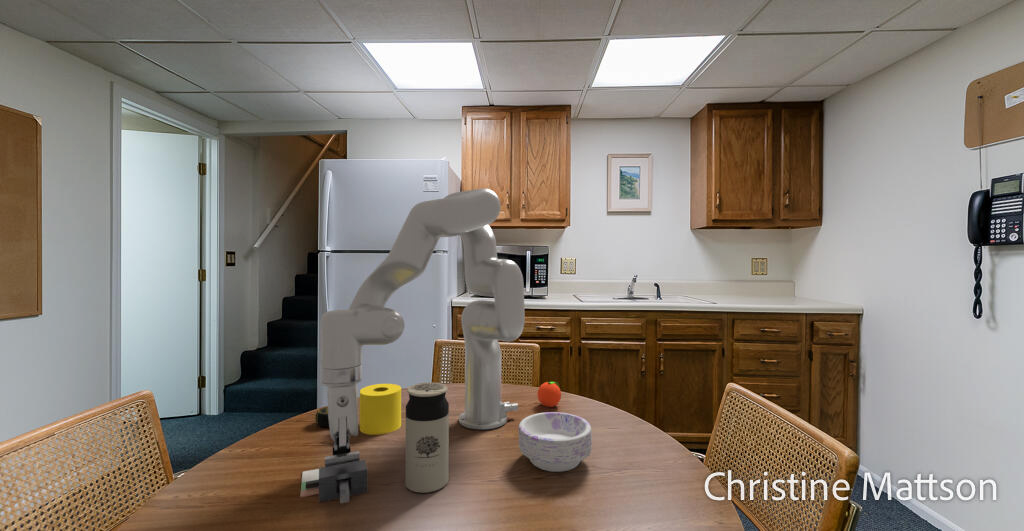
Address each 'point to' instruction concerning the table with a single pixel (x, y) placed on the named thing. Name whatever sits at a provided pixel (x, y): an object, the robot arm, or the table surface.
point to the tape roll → (380, 409)
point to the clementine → (549, 394)
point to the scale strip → (309, 476)
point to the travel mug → (427, 437)
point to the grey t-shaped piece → (342, 482)
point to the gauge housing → (342, 471)
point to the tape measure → (322, 417)
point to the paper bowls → (555, 440)
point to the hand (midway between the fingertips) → (341, 467)
